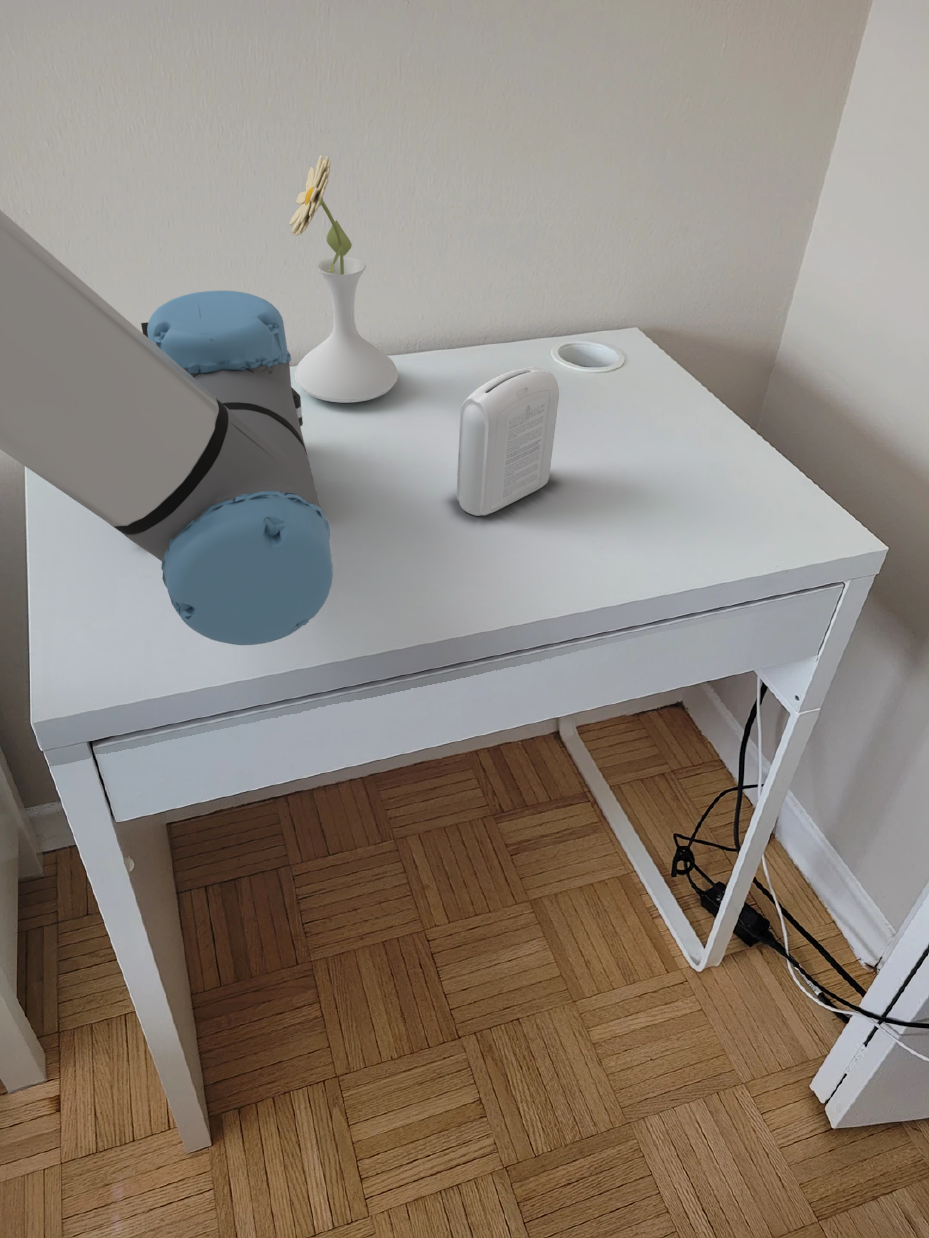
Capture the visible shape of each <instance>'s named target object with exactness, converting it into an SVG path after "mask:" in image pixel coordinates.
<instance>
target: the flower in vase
mask: <svg viewBox="0 0 929 1238" xmlns="http://www.w3.org/2000/svg"><path fill="white" fill-rule="evenodd" d="M330 172H331V160H330V158H329V155H327V156H326V157H325V159H323V155H322V154H320V155H319V157H318V160H317V162H316V167H315V168H314V167H313V166H311V167H310V168H309V169H308V173H307V180H306V183H305V191H301V192H300V193H299V194H298V195H297V197H296V199H295V200H296V201H295V202H296V204H297V205H300V206H299V207H298V208H297V210H296V211H295V212H294V214H293V215H292V217H291V219H290V221H289V226H292V229H291V232H290V233H291V236H293V235H295V237H297V236H301V235H302V234H303V233H304V232H305V231H306V230H307V228H308V227H309V225H310V224H311V222H312V221H313V218H314V216H315V214H316V213H317V212H318V209H319V207H322V209H323V210H324V212H325V214H326V216H327V218H328V220H329V221H330V223H331V227H330V229H329V230H328V232H327V235H326V242H327V243H326V244H327V245H329V247H330V248H331V250H332V251H333V252H335V255H334V256H333V257H328V258H325V259H323V260H320V261H319V262H318V263H317V264H316V268H317V270H318V272H319V273H320V274H321V275H322V277H323V278H324V280H325V282H326V284H327V287H328V290H329V294H330V298H331V304H332V305H331V306H332V314H333V325H332V330H331V333H330V335H328V337H327V338H326V339H325V340H323V341H322V342H321V343H319V344H318V345H317V346H316V347H314V348H313V349H311V350H310V351H309V352H307V353H306V354H305V356H304V357H303V358H301V359H300V360H299V362H298V363H297V367H296V370H295V373H294V380H295V382H296V384H297V385H298V386H299V387H300V389H301V390H302V391H303V392H305V394H307V395H309V396H311V397H313V398H316V399H318V400H322V401H325V402H331V403H345V404H346V403H359V402H365V401H370V400H373V399H377V398H379V397H381V396H383V395H385V394H387V393H388V392H390V390H391V389H392V388H394V386H395V384H396V383H397V381H398V379H399V372H398V369H397V367H396V363H394V361H393V360H392V359H391V358H390V357H389V356H388V355H387V354H386V353H385V352H384V351H382V350H381V349H380V348H378V346H376V345H374V344H372V342H371V343H370V342H369V341H367V339H365V338H363V336H361V334H360V333H359V331H358V330H357V326H356V321H355V320H356V319H355V299H356V292H357V287H358V284H359V280H360V279H361V276H362V275H363V273H364V272H365V270H366V268H367V264H366V263H365V262H364V261H362V260H361V259H359V258H355V257H351V256H350V257H349V256H346V255H347V254H348V253H349V251H350V250H351V249H352V246H353V245H352V242H351V240H350V238H349V236H348V235H347V234H346V233H345V231H344V230H343V228H342V226H341V225H340V223H339V222H338V220H335V219H334V217H333V215H332V213H331V212H330V210H329V208H328V206H327V204H326V203H325V200H324V194H325V191H326V189H327V186H328V184H329V177H330Z"/></svg>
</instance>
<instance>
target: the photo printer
mask: <svg viewBox="0 0 929 1238" xmlns="http://www.w3.org/2000/svg"><path fill="white" fill-rule="evenodd" d="M559 399H560V389H559V384H558V380H557V378H556V377H555V375H554V373H553V372H551V371H547V370H545V369H544V368H543V367H535V366H534V367H533V366H532V367H523V368H517V369H513V370H511V371H508V372H505V373H502V374H500V375H498V376H496V377H494V378H492V379H490V380H489V381H487V382H485V383H484V384H482V385H481V386H479V387H478V388H476V389H475V390H474V391H473V392H471V394H470V395H468V397H466V399H465V400H464V401H463V403H462V404H461V408H460V413H459V414H460V417H459V433H458V434H459V435H458V451H457V452H458V453H457V454H458V455H457V456H458V457H457V473H456V499H457V501H458V502H459V506H460V508H461V509H462V510H463V511H464V512H465V513H468V514H470V515H473V516H477V517H479V516H487V515H490V514H492V513H494V512H495V513H496V512H497V511H499V510H501V509H503V508H504V507H507V506H509V505H510V504H513V503H514V502H516V501H518V500H521V499H522V498H524V497H526V496H528V495H530V494H533V493H534V492H536V491H538V490H540V489H541V488H543V487H545V485H546V484H548V482H549V479H550V475H551V467H552V457H553V449H554V448H553V447H554V441H555V433H556V432H555V431H556V425H557V424H556V423H557V418H558V417H557V416H558V407H559Z"/></svg>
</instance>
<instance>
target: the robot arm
mask: <svg viewBox="0 0 929 1238" xmlns="http://www.w3.org/2000/svg"><path fill="white" fill-rule="evenodd" d="M140 325H141V330H139V329H138V328H137V327H136V326H135V325H134V324H132V322H130V321H129V320H128V319H127V318H126V317H124V315H122V314H121V313H120V312H119V311H118V310H116V309H115V308H114V307H113V306H112V305H111V304H110V303H108V302H107V301H106V300H105V299H104V298H103V297H101V295H99V293H96V292H95V291H94V289H92V288H91V287H90V286H89V285H88V284H87V283H86V282H84V281H83V280H82V279H81V278H80V277H79V276H77V275H76V274H75V273H74V272H73V271H71V270H70V269H69V268H68V267H67V266H66V265H64V264H63V262H61V261H60V260H59V259H58V258H57V257H55V256H54V254H52V253H51V252H50V251H49V250H48V249H46V248H45V247H44V246H42V244H41V243H39V242H38V241H37V240H36V239H35V238H34V237H32V236H31V235H30V234H29V233H28V232H26V231H25V230H24V229H23V228H22V227H21V226H20V225H18V224H17V223H16V222H15V221H14V220H13V219H12V218H11V217H10V216H8V215H7V214H6V213H5V212H4V211H2V210H1V209H0V450H1V451H2V452H3V453H5V454H6V455H8V456H9V457H11V458H12V459H14V460H15V461H16V462H18V463H19V464H21V465H22V466H24V467H25V468H27V469H28V470H30V471H31V472H33V473H35V474H36V475H37V476H39V477H40V478H41V479H43V480H44V481H46V482H47V483H49V484H50V485H52V486H53V487H54V488H56V489H58V490H59V491H61V492H62V493H64V494H65V495H66V496H68V497H70V499H72V500H74V501H75V502H77V503H78V504H80V505H81V506H83V507H84V508H86V509H87V510H88V511H90V512H91V513H93V514H94V515H96V516H97V517H99V518H100V519H102V520H103V521H104V522H106V523H108V525H110V526H111V527H112V528H114V529H116V530H117V531H119V532H120V533H121V534H122V535H123V536H125V537H126V538H128V539H129V541H130V542H133V543H134V544H136V545H137V546H139V547H140V548H141V549H143V550H145V551H146V552H147V553H149V554H151V556H153V557H154V558H156V559H158V560H159V561H160V562H161V571H162V581H163V584H164V586H165V588H166V589H167V593H168V596H169V599H170V601H171V605H172V607H173V608H174V610H175V612H176V614H177V615H178V616H179V617H180V618H181V621H183V623H185V625H186V626H188V627H189V628H190V629H191V630H193V631H194V632H195V633H197V634H199V635H201V636H203V637H205V638H207V639H209V640H212V641H214V642H219V643H223V644H228V645H236V646H255V645H262V644H266V643H271V642H274V641H278V640H281V639H283V638H286V637H288V636H290V635H291V634H293V633H295V632H297V631H298V630H300V629H301V628H302V627H303V626H305V625H307V624H308V623H309V621H310V620H312V619H313V618H314V617H316V615H317V614H318V613H319V612H320V610H321V609H322V608H323V606H324V604H325V603H326V601H327V599H328V597H329V594H330V591H331V588H332V584H333V578H334V577H333V576H334V567H333V559H332V553H331V545H330V539H331V538H330V537H331V529H330V524H329V520H328V518H327V516H326V515H325V513H324V511H323V509H322V507H321V506H322V505H321V503H320V498H319V494H318V491H317V487H316V484H315V480H314V477H313V473H312V469H311V464H310V462H309V461H310V460H309V456H308V452H307V449H306V445H305V441H304V436H303V433H302V432H303V431H302V428H301V427H302V426H303V424H304V422H303V411H302V400H301V395H300V394H299V393H298V392H297V391H296V389H294V387H292V380H291V367H290V366H291V365H290V362H291V361H292V357H291V353H290V351H289V349H288V345H287V337H286V330H285V323H284V319H283V316H282V315H281V312H280V311H279V310H278V308H276V306H275V305H274V304H273V303H271V302H269V301H268V300H267V299H264V298H262V297H260V296H257V295H254V294H251V293H247V292H244V291H243V292H242V291H235V290H205V291H197V292H192V293H191V292H190V293H187V294H184V295H179V296H177V297H175V298H172V299H170V300H169V301H167V302H165V303H163V304H162V305H160V306H159V307H158V308H156V310H154V311H153V313H152V314H151V316H150V317H149V319H148V322H141V323H140Z"/></svg>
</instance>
